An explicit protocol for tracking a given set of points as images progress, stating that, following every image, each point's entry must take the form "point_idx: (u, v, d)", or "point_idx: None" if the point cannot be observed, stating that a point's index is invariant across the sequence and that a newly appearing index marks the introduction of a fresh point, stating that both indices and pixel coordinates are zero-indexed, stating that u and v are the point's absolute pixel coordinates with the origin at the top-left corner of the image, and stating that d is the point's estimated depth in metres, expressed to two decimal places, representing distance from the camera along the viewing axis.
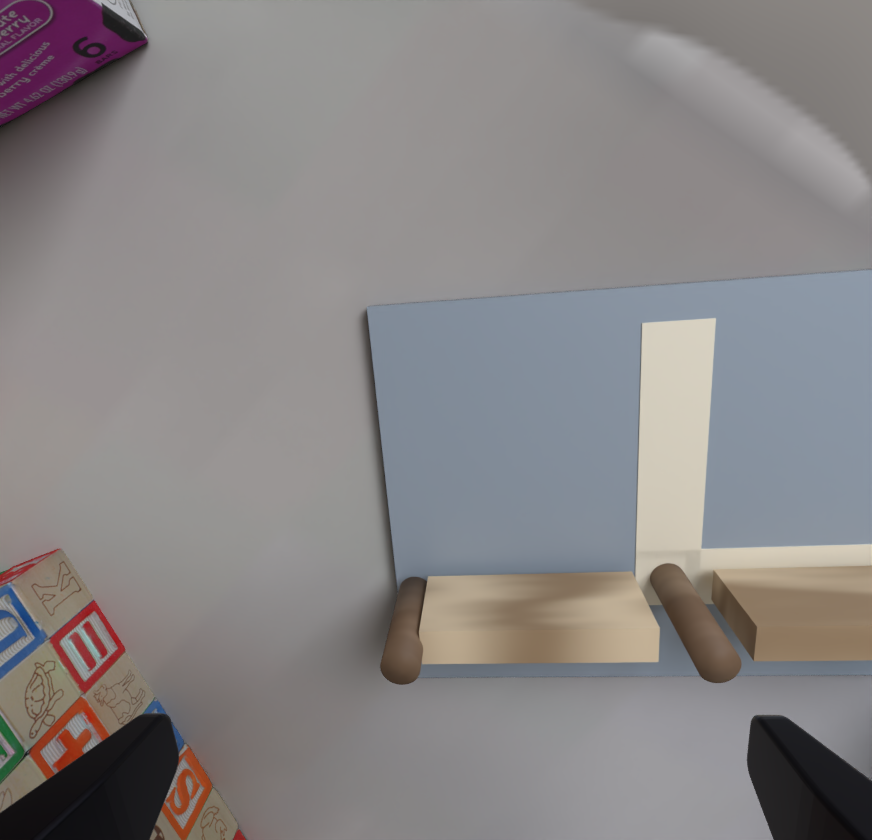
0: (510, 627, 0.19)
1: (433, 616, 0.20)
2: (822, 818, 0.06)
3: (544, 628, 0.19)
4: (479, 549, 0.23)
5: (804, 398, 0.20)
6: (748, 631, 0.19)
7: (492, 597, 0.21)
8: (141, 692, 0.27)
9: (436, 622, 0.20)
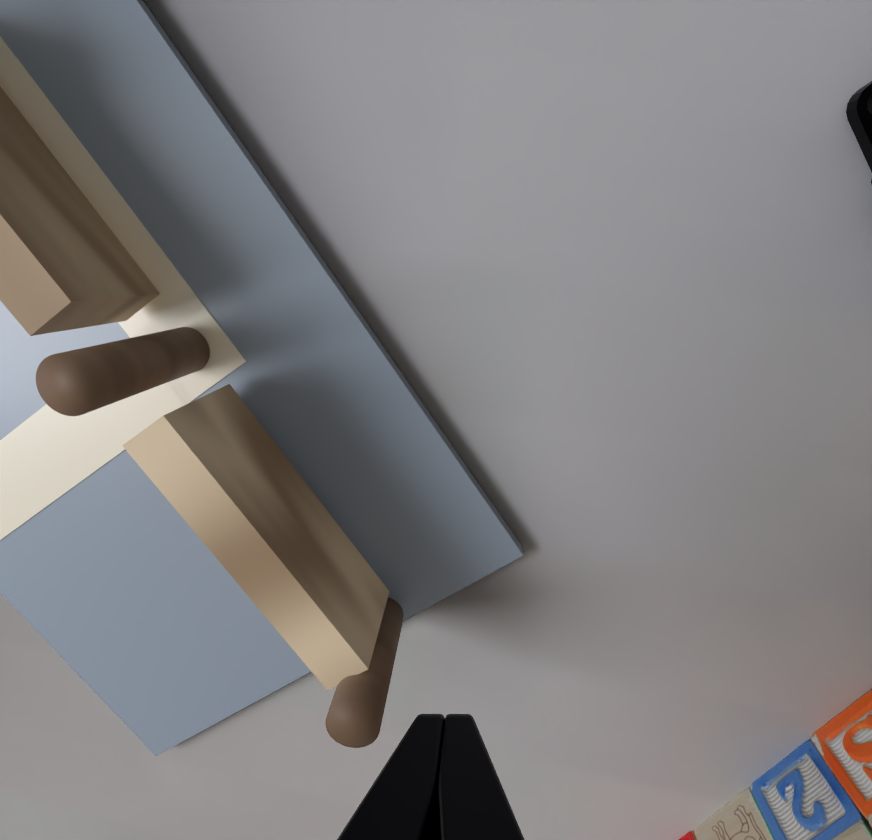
0: (254, 598, 0.14)
1: None
2: None
3: (224, 566, 0.14)
4: None
5: None
6: (65, 319, 0.13)
7: None
8: (739, 811, 0.20)
9: None
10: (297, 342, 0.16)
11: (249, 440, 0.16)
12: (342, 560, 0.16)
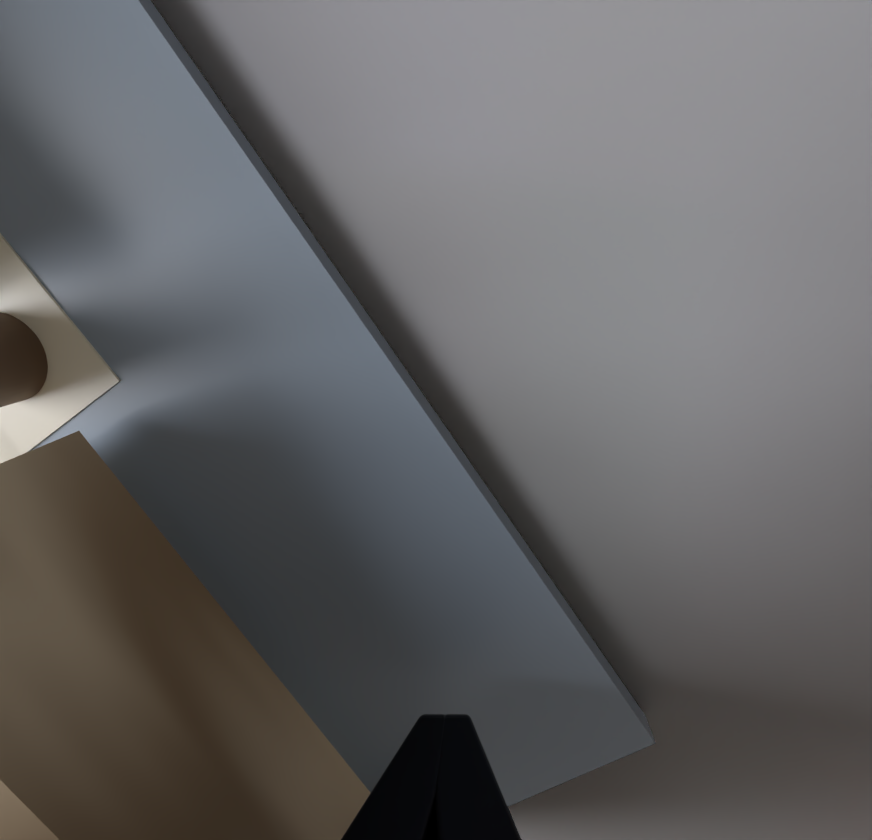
0: None
1: None
2: None
3: None
4: None
5: None
6: None
7: None
8: None
9: None
10: (220, 343, 0.08)
11: (102, 559, 0.07)
12: (298, 793, 0.08)
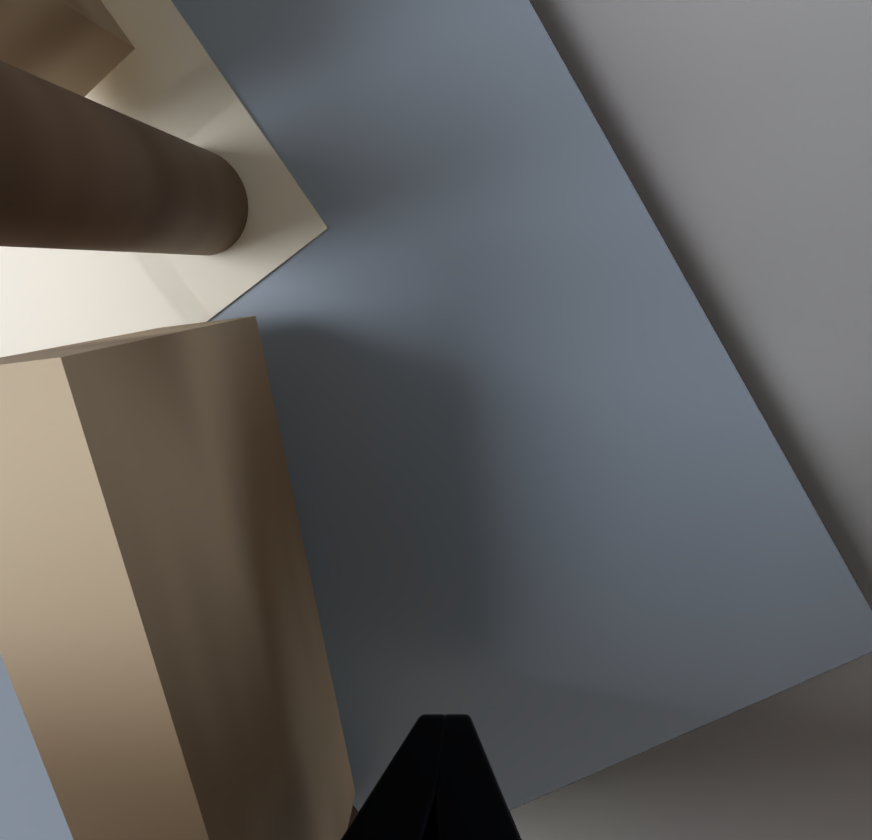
0: None
1: None
2: None
3: (56, 777, 0.05)
4: (422, 653, 0.09)
5: None
6: None
7: None
8: None
9: None
10: (447, 180, 0.07)
11: (248, 460, 0.07)
12: (314, 752, 0.08)
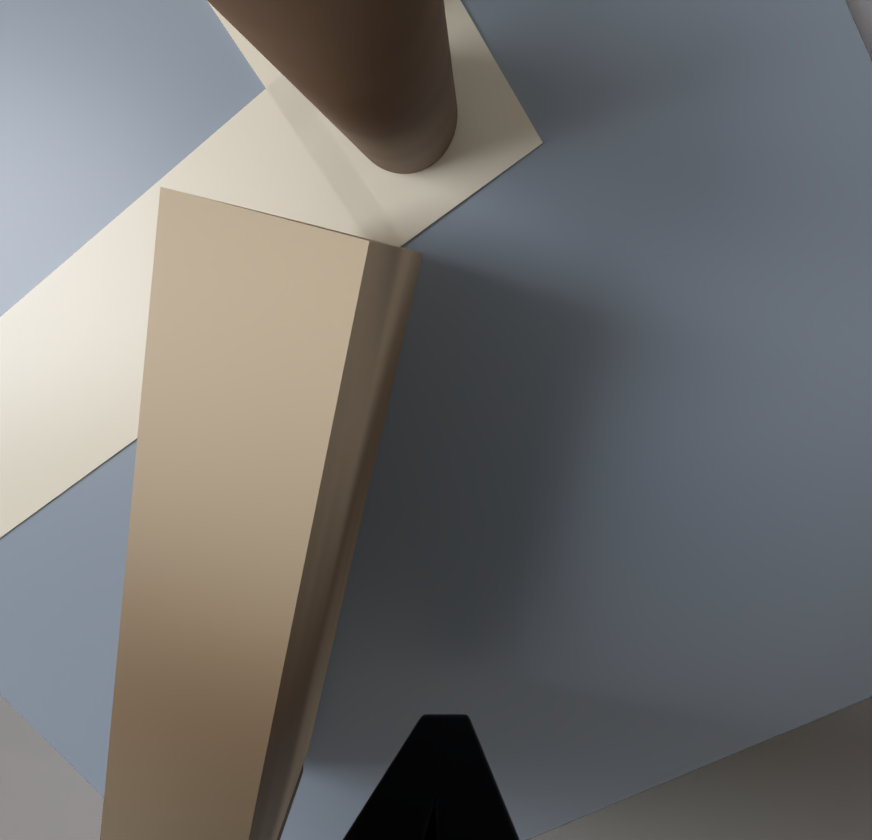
0: (115, 761, 0.05)
1: None
2: None
3: (119, 664, 0.05)
4: (596, 612, 0.09)
5: None
6: None
7: None
8: None
9: None
10: (679, 88, 0.07)
11: (378, 397, 0.06)
12: (311, 701, 0.08)
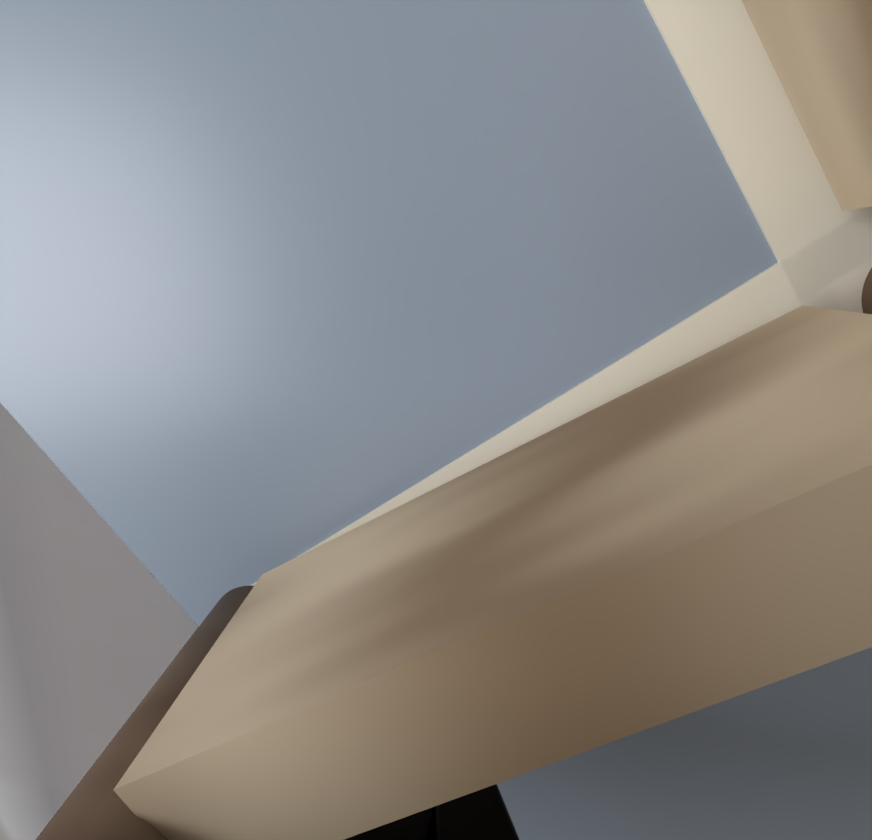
0: (422, 646, 0.04)
1: (198, 700, 0.06)
2: None
3: (556, 595, 0.04)
4: None
5: (267, 311, 0.08)
6: None
7: (394, 558, 0.06)
8: None
9: (191, 722, 0.05)
10: None
11: None
12: None
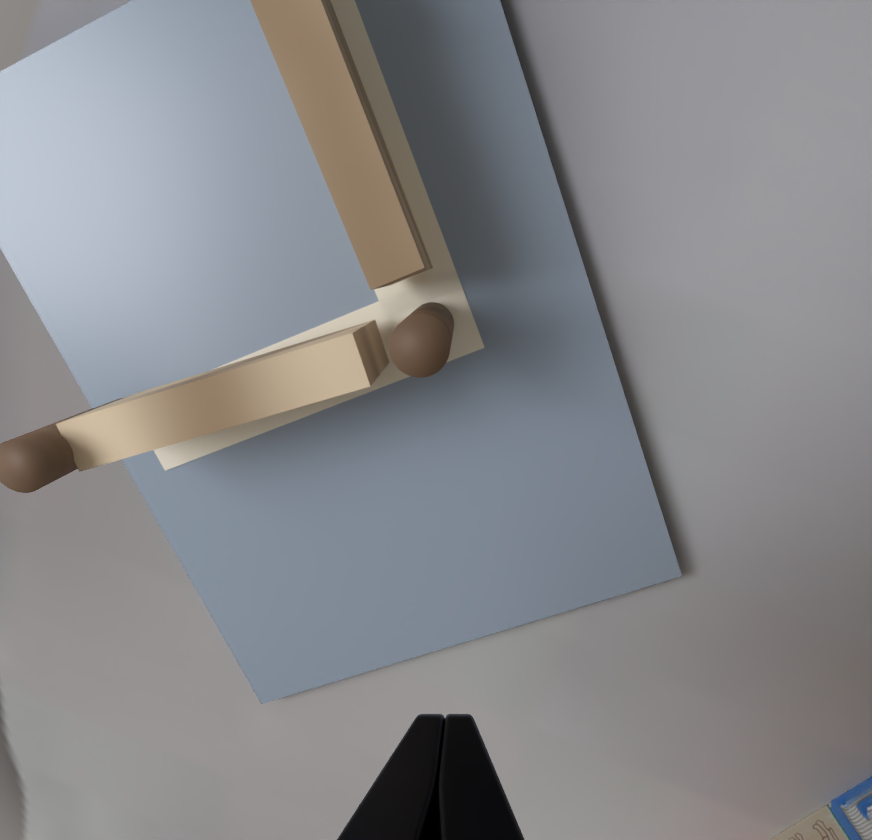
0: (168, 388, 0.14)
1: (92, 411, 0.15)
2: None
3: (209, 376, 0.14)
4: (472, 545, 0.19)
5: (160, 272, 0.17)
6: (396, 280, 0.13)
7: (183, 380, 0.16)
8: (817, 826, 0.22)
9: (88, 412, 0.15)
10: (539, 340, 0.17)
11: None
12: None
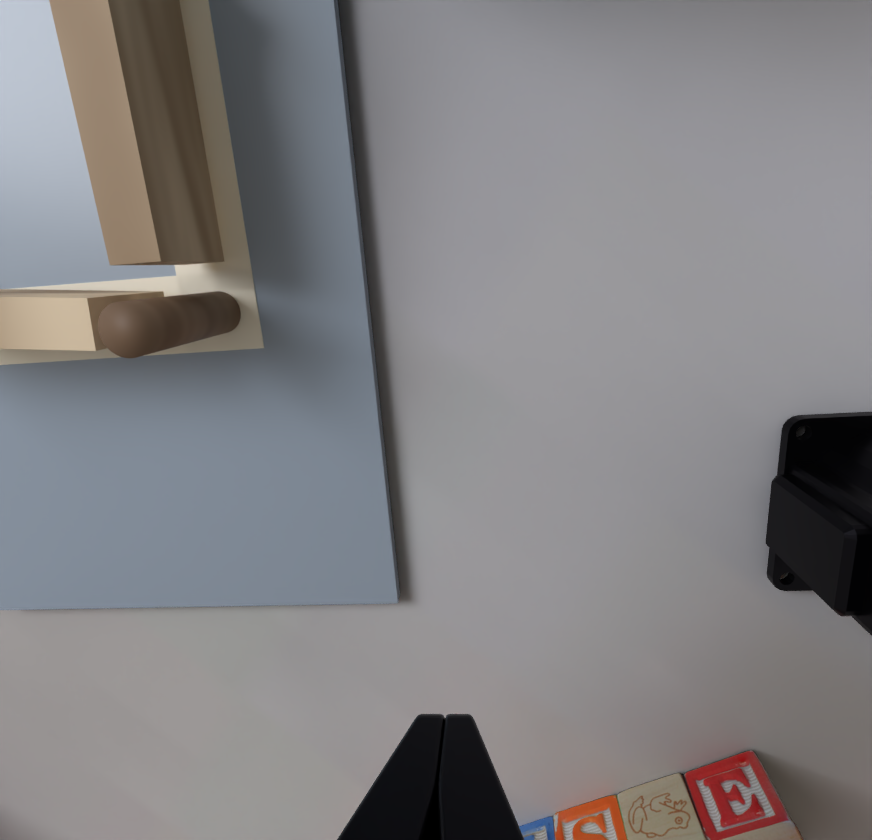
0: None
1: None
2: None
3: None
4: (218, 521, 0.21)
5: None
6: (144, 263, 0.14)
7: None
8: None
9: None
10: (314, 357, 0.19)
11: None
12: None
